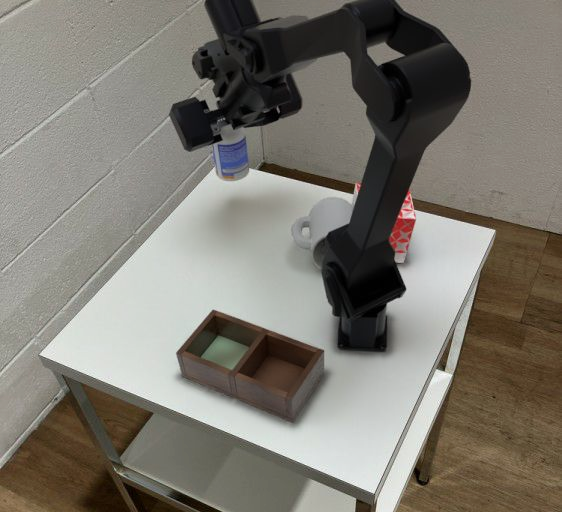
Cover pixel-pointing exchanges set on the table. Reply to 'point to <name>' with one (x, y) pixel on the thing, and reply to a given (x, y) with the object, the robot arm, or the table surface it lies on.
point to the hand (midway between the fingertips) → (223, 130)
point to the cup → (321, 225)
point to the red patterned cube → (399, 226)
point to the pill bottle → (231, 154)
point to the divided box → (252, 364)
